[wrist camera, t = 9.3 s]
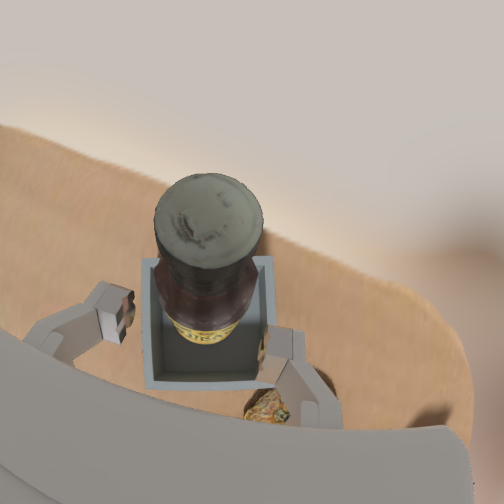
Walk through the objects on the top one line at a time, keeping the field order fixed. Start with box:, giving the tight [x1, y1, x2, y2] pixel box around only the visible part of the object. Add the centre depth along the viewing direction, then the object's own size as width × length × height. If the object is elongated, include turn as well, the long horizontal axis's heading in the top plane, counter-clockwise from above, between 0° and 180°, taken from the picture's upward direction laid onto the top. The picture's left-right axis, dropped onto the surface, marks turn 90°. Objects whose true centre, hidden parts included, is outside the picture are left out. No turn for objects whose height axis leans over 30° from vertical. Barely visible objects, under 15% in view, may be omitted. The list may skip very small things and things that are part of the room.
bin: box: [141, 256, 277, 391], centre depth 27 cm, size 12×12×6 cm
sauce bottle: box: [154, 173, 264, 344], centre depth 19 cm, size 6×6×20 cm
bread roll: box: [244, 384, 336, 425], centre depth 26 cm, size 11×11×5 cm
